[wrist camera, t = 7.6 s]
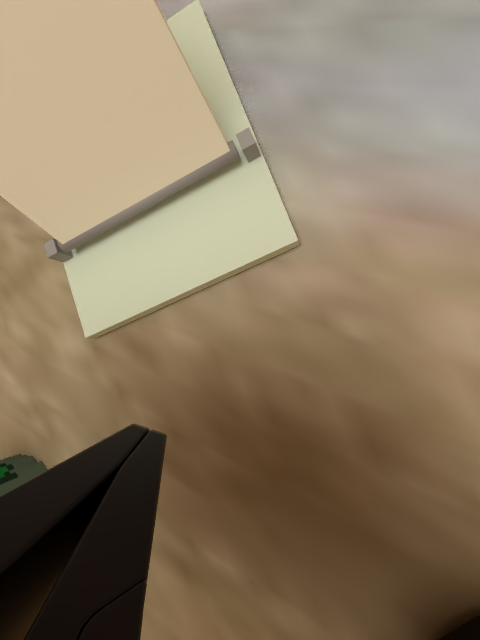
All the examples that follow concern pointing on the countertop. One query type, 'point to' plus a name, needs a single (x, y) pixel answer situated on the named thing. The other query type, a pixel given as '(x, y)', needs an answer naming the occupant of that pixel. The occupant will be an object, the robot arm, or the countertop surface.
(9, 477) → the can
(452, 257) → the countertop surface
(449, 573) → the countertop surface
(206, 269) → the pale green base plate
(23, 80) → the hinged cream panel
